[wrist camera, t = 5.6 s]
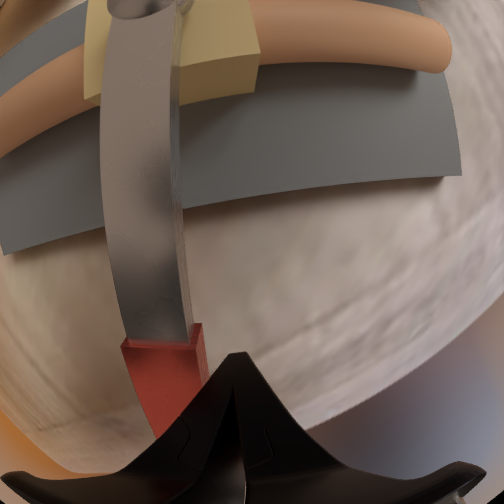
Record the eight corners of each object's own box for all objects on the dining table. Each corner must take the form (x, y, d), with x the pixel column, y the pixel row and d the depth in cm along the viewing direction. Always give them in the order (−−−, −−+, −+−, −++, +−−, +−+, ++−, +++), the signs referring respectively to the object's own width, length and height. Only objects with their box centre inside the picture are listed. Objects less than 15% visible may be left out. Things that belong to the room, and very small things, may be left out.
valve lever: (126, -8, 5) (112, -28, 4) (197, -22, 5) (192, -46, 4) (163, 420, 9) (157, 445, 8) (220, 423, 9) (218, 449, 8)
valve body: (393, -15, 9) (437, -55, 3) (446, 174, 13) (522, 184, 7) (5, 67, 9) (-49, 54, 3) (17, 249, 13) (-45, 281, 7)
